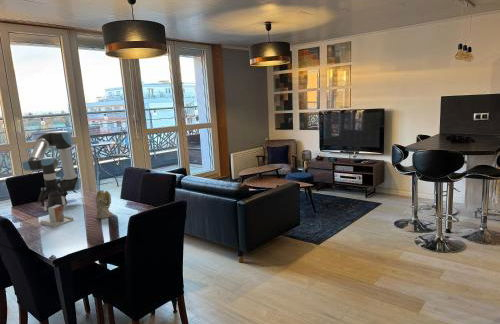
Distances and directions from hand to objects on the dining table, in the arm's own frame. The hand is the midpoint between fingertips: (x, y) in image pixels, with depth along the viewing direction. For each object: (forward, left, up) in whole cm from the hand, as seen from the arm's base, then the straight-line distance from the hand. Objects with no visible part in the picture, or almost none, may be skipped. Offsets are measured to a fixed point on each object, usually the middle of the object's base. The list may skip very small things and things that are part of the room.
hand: (55, 207), depth 246 cm
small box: (0, 0, -10) cm, 10 cm away
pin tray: (0, 0, -11) cm, 11 cm away
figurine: (-22, +24, -11) cm, 34 cm away
